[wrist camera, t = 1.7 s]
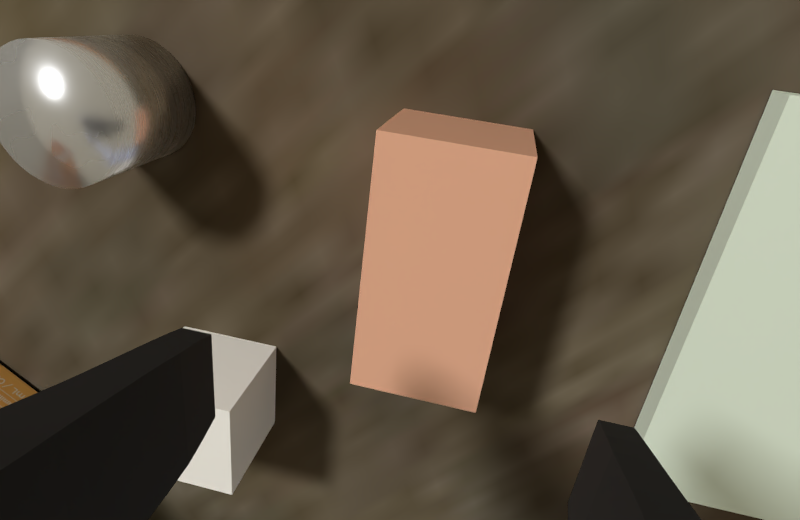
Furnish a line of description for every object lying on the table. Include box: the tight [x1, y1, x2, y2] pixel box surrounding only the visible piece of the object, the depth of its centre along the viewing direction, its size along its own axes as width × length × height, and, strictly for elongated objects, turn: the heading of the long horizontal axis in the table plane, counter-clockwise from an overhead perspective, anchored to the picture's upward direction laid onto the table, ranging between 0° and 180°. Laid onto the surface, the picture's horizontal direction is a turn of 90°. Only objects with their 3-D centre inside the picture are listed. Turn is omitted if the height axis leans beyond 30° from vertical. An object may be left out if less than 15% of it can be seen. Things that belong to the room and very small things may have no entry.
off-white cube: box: [177, 326, 276, 495], centre depth 21 cm, size 4×4×4 cm
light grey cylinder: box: [0, 35, 196, 189], centre depth 16 cm, size 4×4×4 cm
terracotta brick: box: [350, 109, 538, 413], centre depth 16 cm, size 8×4×4 cm, turn 173°
